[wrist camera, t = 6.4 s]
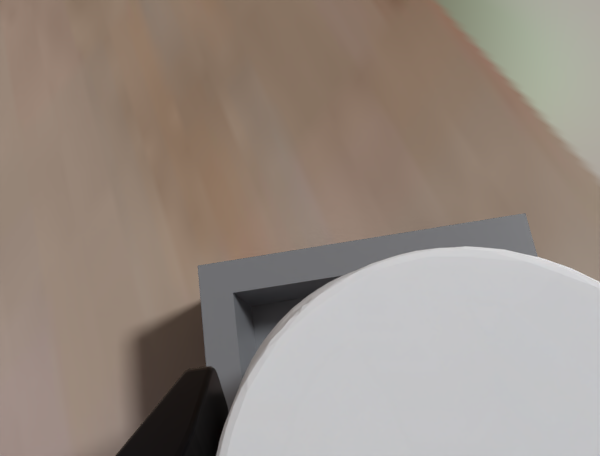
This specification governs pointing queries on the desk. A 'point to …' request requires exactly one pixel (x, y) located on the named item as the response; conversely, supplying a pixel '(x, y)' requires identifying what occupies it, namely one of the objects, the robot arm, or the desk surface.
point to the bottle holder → (313, 284)
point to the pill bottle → (429, 363)
